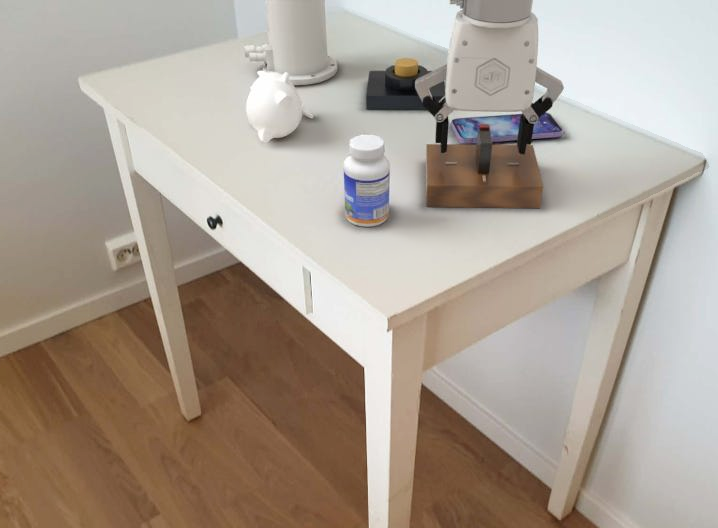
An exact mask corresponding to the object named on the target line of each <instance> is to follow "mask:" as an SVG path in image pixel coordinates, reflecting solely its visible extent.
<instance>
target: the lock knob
mask: <svg viewBox="0 0 718 528" xmlns="http://www.w3.org/2000/svg"><path fill="white" fill-rule="evenodd" d="M476 145H477V146H476V161H477V170H478V173H489V170H490V160H491V151H492V145H493V142H492V138H491V132H490V126H489V124H480V125H478V135H477V143H476Z"/></svg>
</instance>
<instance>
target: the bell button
mask: <svg viewBox="0 0 718 528" xmlns="http://www.w3.org/2000/svg"><path fill="white" fill-rule="evenodd" d="M394 65H395V75H397V76H402V77H410V76H415V75H417V74H418V65H419V60H417V59H415V58H412V57H411V58H410V57H404V58H398V59H396V60H395V61H394Z"/></svg>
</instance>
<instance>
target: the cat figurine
mask: <svg viewBox="0 0 718 528" xmlns="http://www.w3.org/2000/svg"><path fill="white" fill-rule="evenodd" d="M257 75H258V78H256V80H255V81H254V82H253V84H252V85H251V86H250V87H249V89H250V93H249V94H248V97H247V100H246V104H245V111H246V116H247V120H248V122H249V124H250V125H251V127H252V128H253V129H254V130H255V131H256V133H257V134H258V139H259V140H260V141H261V143H264V144H267V143H268V142H270V141H271V140H272V139H280V138H284V137H286V136H289V135H290V134H291V133H293V132H294V131H295V130H296V129H297V128H298V126H299V125H300V122H301V120H302V117H303V115H304V116H306V117H307V118H309V119H311V120H313V118H314V115H313V114H312V112H311V111H310V110H308V109H307V108H306V107H304V106H303V103H302V99H301V97H300V95H299V94H298V92H297V91H296V87H295V85H293V83H292V82H291V81H290V79H289V73H288V72H285V73H284V74H280V73H276V72H270V73H266V72H265V71H263V69H262V70H258V71H257Z"/></svg>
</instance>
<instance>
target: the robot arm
mask: <svg viewBox="0 0 718 528" xmlns="http://www.w3.org/2000/svg"><path fill="white" fill-rule="evenodd" d="M533 2H534V0H449V5H456V6H457V7H458V6H459V9H460V10H459V11H457V13H456V14H455V18H454V21H453V25H452V28H451V29H452V31H451V36H450V41H449V46H448V52H447V58H446V64H445V65H442V66H440V67H439V68H436V69H433V70H431V71H432V72H430V73H428V74H426V75H424V76H422V77H420V78H418V79H416V81H415V89H416V91H417V93H418V95H419V97H420V99H421V101H422V103H423V106H424V107H425V108H426V109H427V110H426V111H428V113H430V115H432V117H433V118H434V120H435V121H436V122H435V135H434V136H435V137H434V138H435V140H434V141H435V143H434V144H441V153H445V152H447V144H448V140H449V126H450V125H449V124H450V123H449V121H450V120H449V116H450V115H451V114H452V113H453V111H458V112H480V113H481V112H483V113H484V112H485V113H487V112H489V113H507V112H508V113H516V112H517V113H518V112H521V114H522V115H521V116H520V124H519V131H518V138H517V140H516V145H517V146H518V151H519V153H520V154H525V151H526V145H532V141H533V139H532V135H533V129H534V123H536V122H537V121H538V118H539V117H541V116H542V115H543V114H544V113H548V111H549V110H551V108H553V106H554V105H553V104H554V103H555V102H556V101H557V99H558V98H559V96H560V95H561V94H562V93H563V91H564V88H565V87H564V83H563V81H562V80H561V79H559V78H557V77H555V76H554V75H552V74H550V73H549V72H547V71H545V70H543V69H542V68H540V67H538V54H539V21H538V17H537V16H536V14H535V13H534V12H532V11H533V9H532V8H533ZM264 6H265V17H266V26H267V34H268V42H267V43H263V45H250V44H249V45H247V44H246V45H244V48H243V49H244V51H243V52H244V58H249V62H263V64H262V71H265V72H266V73H270V72H276V73H280V74H284V73H285V72H288V73H289V79H290V81H291V82H292V83H293V85H294V86H307V85H314V84H319V83H322V82H325V81H328V80H329V79H331V78H333V77H334V76H335V75H336V74H337V72H338V62H337V60H336V59H335V58H334V57H332V56H331V55H328V42H327V40H328V39H327V21H326V20H327V19H326V18H327V17H326V3H325V0H264ZM443 81H444V82H445V96H444V97H443V98H442V99H441V100H440V101H439V102H438V101H437V100H436V98H435V97H434V96H433V95H432V94H431V93H430V90H429V89H430V88H431V87H433V86H435V85H437V84H439V83H441V82H443ZM536 84H538V85H539V86H542V87H543V88H545V89H546V91H545V93H544V94H543V95H542V96H540V97H539V98H538V99H537V100H536V101H534V103H533V100H534V94H535V88H536V87H535V86H536Z"/></svg>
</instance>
